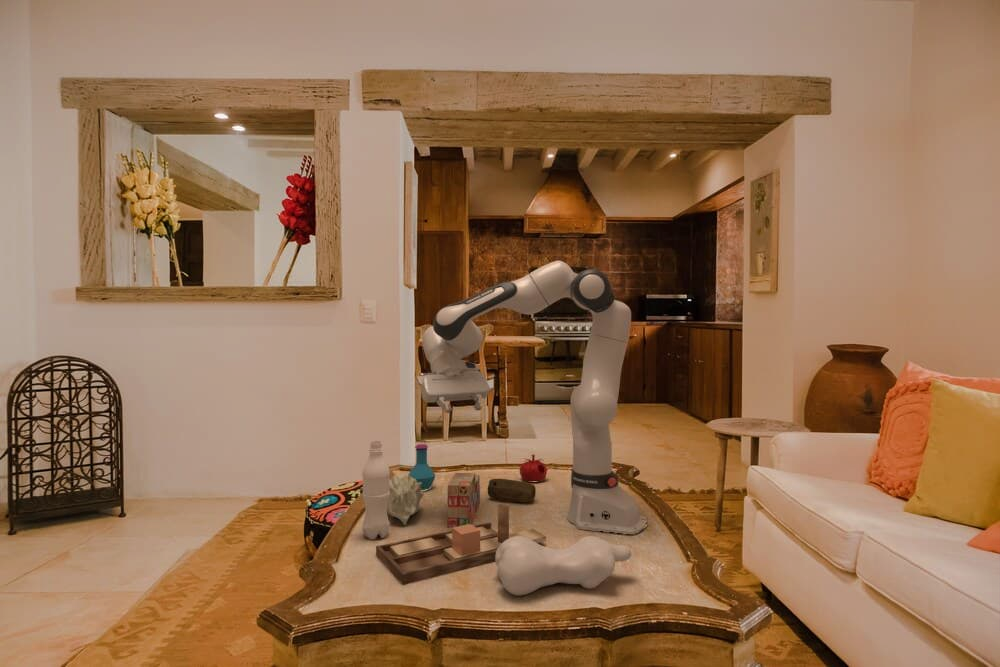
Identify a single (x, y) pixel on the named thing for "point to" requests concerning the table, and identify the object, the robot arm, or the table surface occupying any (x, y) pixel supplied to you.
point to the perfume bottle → (422, 468)
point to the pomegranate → (533, 470)
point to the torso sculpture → (556, 563)
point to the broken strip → (427, 544)
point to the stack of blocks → (462, 499)
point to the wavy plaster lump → (404, 497)
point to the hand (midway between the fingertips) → (464, 410)
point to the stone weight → (511, 490)
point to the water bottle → (376, 493)
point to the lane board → (431, 558)
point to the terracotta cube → (466, 539)
